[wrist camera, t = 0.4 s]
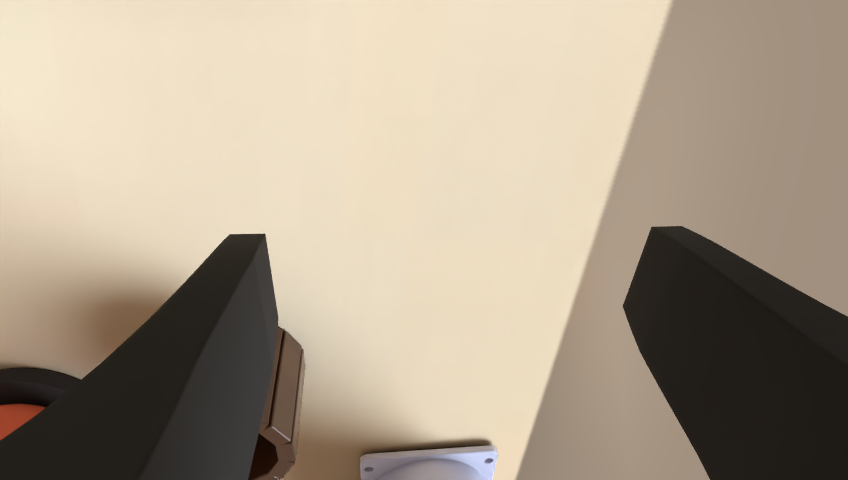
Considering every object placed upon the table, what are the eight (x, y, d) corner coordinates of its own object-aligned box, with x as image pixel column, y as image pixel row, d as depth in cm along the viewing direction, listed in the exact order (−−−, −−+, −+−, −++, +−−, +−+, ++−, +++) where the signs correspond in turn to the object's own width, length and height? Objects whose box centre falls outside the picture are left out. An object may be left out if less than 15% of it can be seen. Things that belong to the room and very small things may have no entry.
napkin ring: (308, 392, 26) (300, 487, 22) (201, 398, 26) (173, 497, 22) (299, 317, 23) (287, 412, 19) (177, 322, 23) (139, 421, 19)
